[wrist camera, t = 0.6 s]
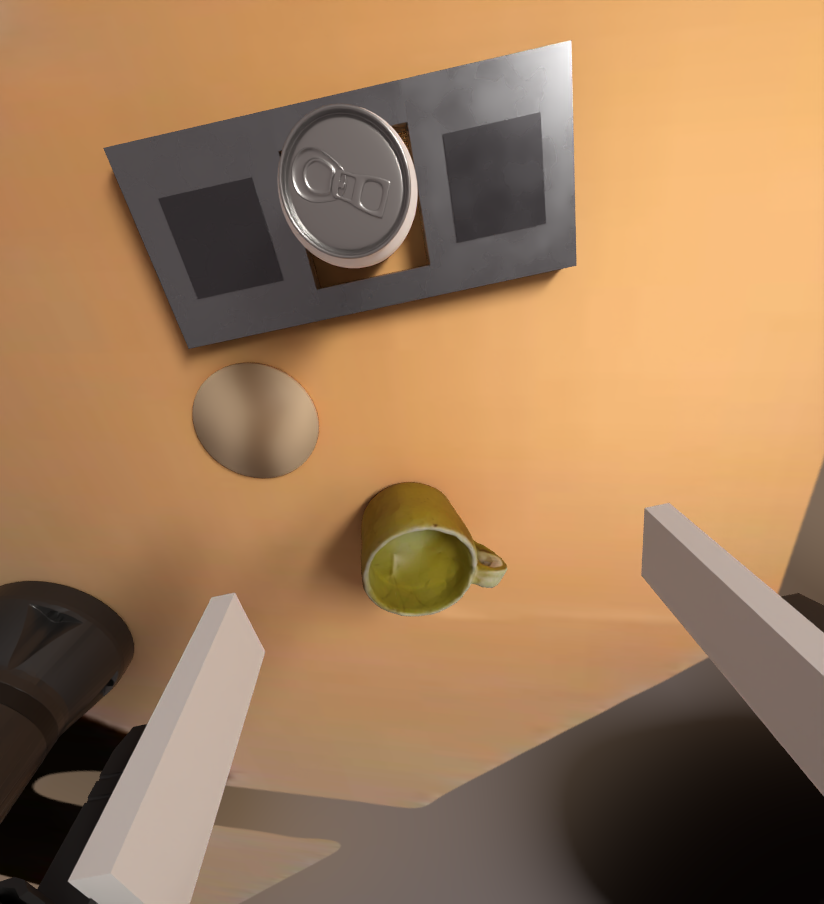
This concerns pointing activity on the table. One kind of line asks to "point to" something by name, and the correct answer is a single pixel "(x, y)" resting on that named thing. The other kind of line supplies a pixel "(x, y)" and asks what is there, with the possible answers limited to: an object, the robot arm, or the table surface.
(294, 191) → the can
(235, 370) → the coaster
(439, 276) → the panel
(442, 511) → the mug
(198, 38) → the table surface
